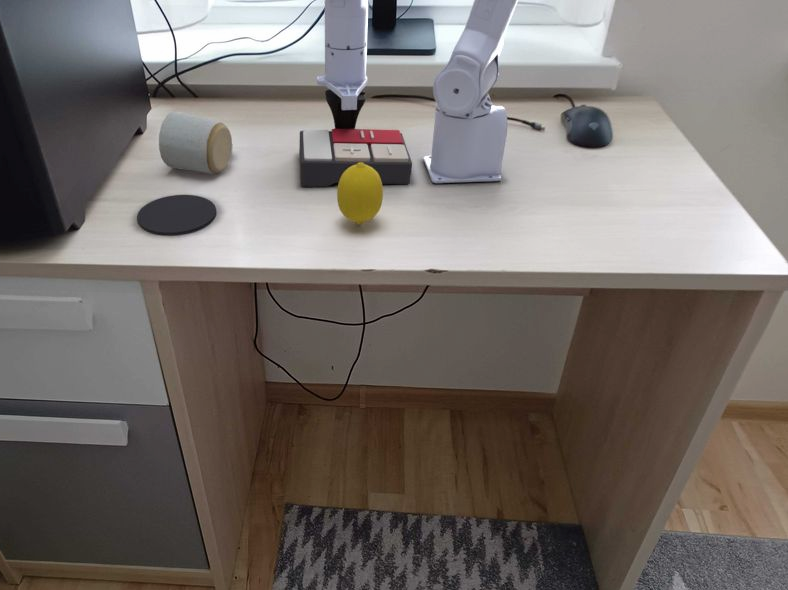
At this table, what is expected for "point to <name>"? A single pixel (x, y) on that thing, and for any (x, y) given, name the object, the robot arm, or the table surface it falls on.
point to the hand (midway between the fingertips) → (344, 141)
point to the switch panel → (352, 155)
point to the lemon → (360, 193)
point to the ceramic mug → (194, 143)
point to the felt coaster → (176, 214)
